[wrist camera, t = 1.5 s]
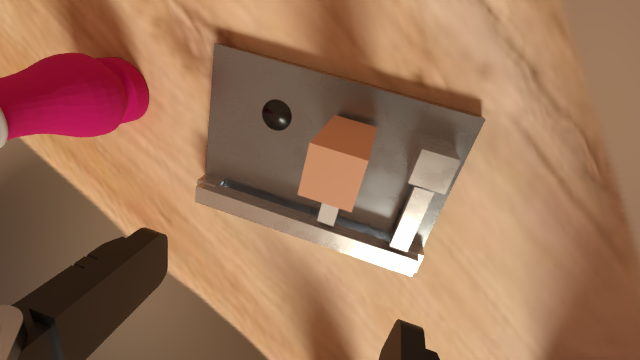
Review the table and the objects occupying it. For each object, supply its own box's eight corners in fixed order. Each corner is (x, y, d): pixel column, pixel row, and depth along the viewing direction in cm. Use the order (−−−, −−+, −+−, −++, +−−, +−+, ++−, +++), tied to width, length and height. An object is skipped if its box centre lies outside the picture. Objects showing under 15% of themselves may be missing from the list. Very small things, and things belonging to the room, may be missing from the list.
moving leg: (377, 125, 25) (368, 160, 17) (346, 221, 29) (327, 283, 22) (336, 113, 26) (309, 142, 18) (311, 209, 30) (280, 266, 22)
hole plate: (481, 116, 25) (494, 126, 21) (410, 263, 32) (411, 288, 28) (221, 43, 27) (198, 43, 24) (209, 195, 34) (190, 210, 31)
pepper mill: (89, 104, 33) (-272, 173, 15) (95, 38, 30) (-358, 27, 12) (147, 136, 33) (-148, 244, 15) (160, 73, 30) (-199, 116, 12)
